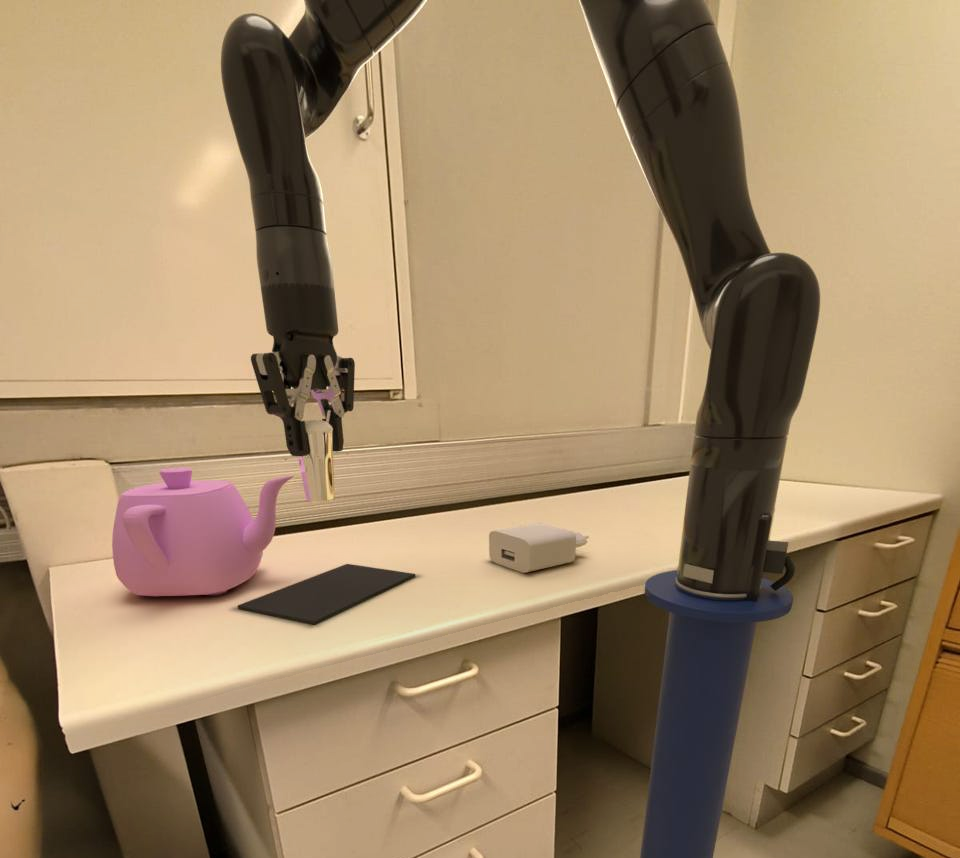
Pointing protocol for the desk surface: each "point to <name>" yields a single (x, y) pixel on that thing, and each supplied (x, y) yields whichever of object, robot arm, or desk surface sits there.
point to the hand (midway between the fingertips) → (317, 452)
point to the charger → (534, 546)
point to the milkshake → (318, 461)
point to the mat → (326, 593)
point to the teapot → (190, 535)
